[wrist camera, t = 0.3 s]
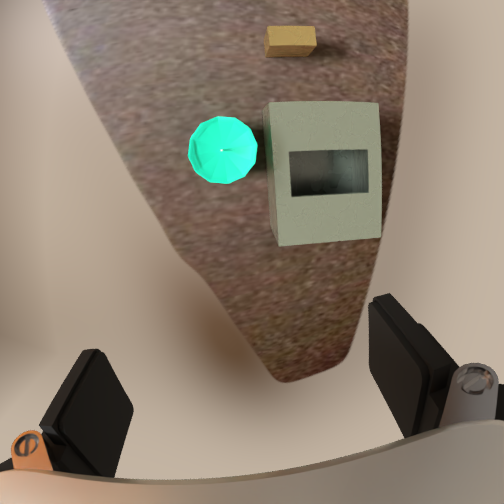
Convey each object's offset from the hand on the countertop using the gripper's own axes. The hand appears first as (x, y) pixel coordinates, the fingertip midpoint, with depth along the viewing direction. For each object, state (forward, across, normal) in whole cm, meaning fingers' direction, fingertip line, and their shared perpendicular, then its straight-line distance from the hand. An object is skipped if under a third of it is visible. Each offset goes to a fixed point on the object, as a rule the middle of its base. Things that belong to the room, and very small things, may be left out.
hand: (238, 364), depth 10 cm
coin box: (+30, -10, -3) cm, 31 cm away
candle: (+30, 0, -7) cm, 31 cm away
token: (+30, -10, -18) cm, 36 cm away
